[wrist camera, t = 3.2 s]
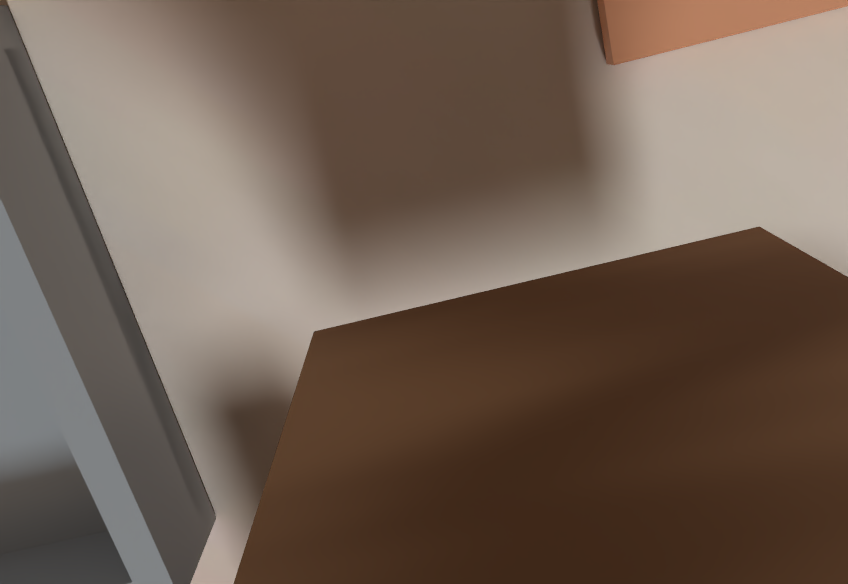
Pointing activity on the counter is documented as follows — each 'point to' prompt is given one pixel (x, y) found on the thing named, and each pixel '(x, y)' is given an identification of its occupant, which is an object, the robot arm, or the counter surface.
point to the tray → (77, 381)
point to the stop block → (576, 432)
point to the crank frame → (690, 22)
